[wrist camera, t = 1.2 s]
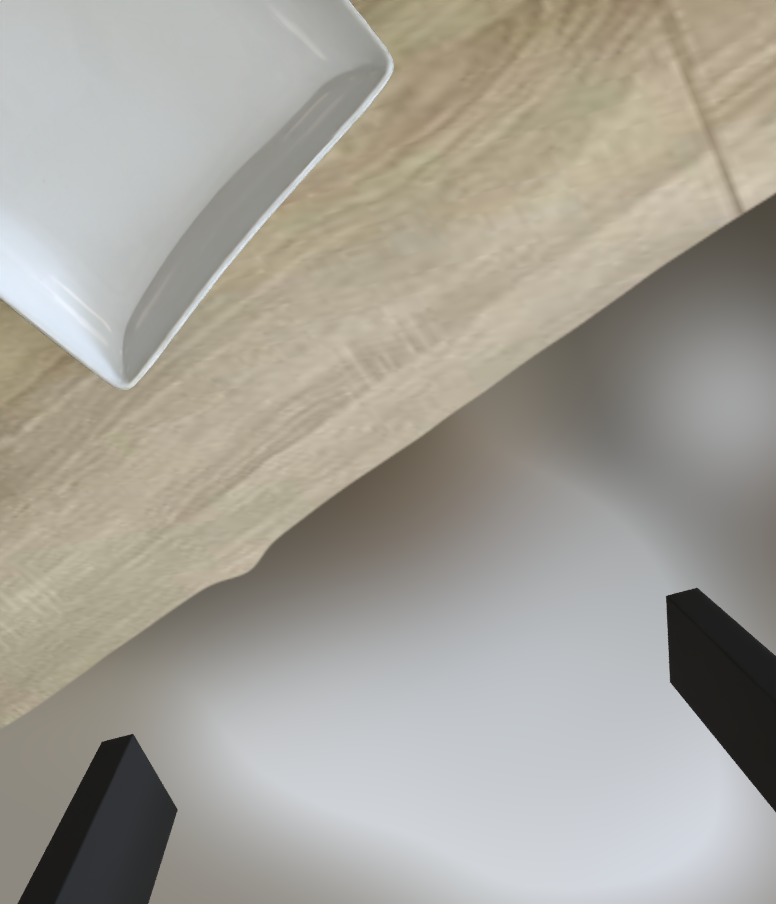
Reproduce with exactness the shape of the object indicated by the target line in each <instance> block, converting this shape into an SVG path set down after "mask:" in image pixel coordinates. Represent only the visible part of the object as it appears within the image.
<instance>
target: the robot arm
mask: <svg viewBox="0 0 776 904" xmlns="http://www.w3.org/2000/svg"><path fill="white" fill-rule="evenodd" d="M666 603H667V624H668V645H669V668H670V682H671V684H672V685H673V686H674V687H675V689H676V690H677V691H678V692H679V694H680V695H681V696H682V697H683V698H684V700H685V701H686V702H687V703H688V704H689V706H690V707H691V708H692V710H693V711H694V712H695V713H696V714H697V716H698V717H699V718H700V719H701V721H702V722H703V723H704V724H705V726H706V727H707V728H708V729H709V730H710V732H711V733H712V734H713V735H714V736H715V738H716V739H717V740H718V741H719V743H720V744H721V745H722V746H723V748H724V749H725V750H726V751H727V753H728V754H729V755H730V756H731V758H732V759H733V760H734V761H735V762H736V764H737V765H738V766H739V767H740V769H741V770H742V771H743V772H744V774H745V775H746V776H747V777H748V779H749V780H750V781H751V782H752V783H753V785H754V786H755V787H756V788H757V790H758V791H759V792H760V793H761V795H762V796H763V797H764V798H765V799H766V800H767V802H768V803H769V804H770V806H771V807H772V808H773V809H774V811H775V812H776V656H775V655H774V654H773V653H772V652H770V651H769V650H768V649H767V648H766V647H765V646H763V645H762V644H761V643H760V642H759V641H758V640H757V639H755V638H754V637H753V636H752V635H751V634H750V633H749V632H747V631H746V630H745V629H744V628H743V627H741V626H740V625H739V624H738V623H737V622H736V621H735V620H734V619H732V618H731V617H730V616H729V615H728V614H727V613H725V612H724V611H723V610H722V609H721V608H720V607H719V606H717V605H716V604H715V603H714V602H713V601H712V600H711V599H709V598H708V597H707V596H706V595H705V594H704V593H702V592H701V591H700V590H699V589H698V588H695V589H691V590H687V591H683V592H679V593H675V594H672V595H668V596H666ZM176 813H177V808H176V806H175V804H174V803H173V801H172V799H171V798H170V796H169V794H168V793H167V791H166V789H165V788H164V786H163V784H162V782H161V781H160V779H159V777H158V776H157V774H156V772H155V770H154V769H153V767H152V765H151V764H150V762H149V760H148V758H147V757H146V755H145V753H144V752H143V750H142V748H141V746H140V745H139V743H138V741H137V740H136V738H135V736H134V735H133V734H131V735H127V736H123V737H119V738H115V739H111V740H107V741H104V742H102V743H101V745H100V747H99V749H98V751H97V752H96V754H95V756H94V758H93V760H92V762H91V764H90V766H89V768H88V770H87V772H86V774H85V775H84V777H83V779H82V781H81V783H80V785H79V787H78V789H77V791H76V793H75V795H74V797H73V799H72V800H71V802H70V804H69V806H68V808H67V810H66V812H65V814H64V816H63V818H62V820H61V822H60V823H59V826H58V827H57V829H56V831H55V833H54V835H53V837H52V839H51V841H50V843H49V845H48V847H47V848H46V850H45V852H44V854H43V856H42V858H41V860H40V862H39V864H38V866H37V868H36V870H35V871H34V873H33V875H32V877H31V879H30V881H29V883H28V885H27V887H26V889H25V891H24V893H23V895H22V896H21V898H20V900H19V902H18V904H148V903H149V899H150V896H151V893H152V890H153V887H154V884H155V880H156V877H157V874H158V871H159V868H160V864H161V861H162V858H163V855H164V851H165V848H166V845H167V842H168V839H169V835H170V832H171V829H172V826H173V823H174V819H175V816H176Z"/></svg>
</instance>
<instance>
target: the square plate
mask: <svg viewBox="0 0 776 904" xmlns="http://www.w3.org/2000/svg"><path fill="white" fill-rule="evenodd" d="M393 69H394V67H393V60H392V57H391V55H390V53H389V51H388V49H387V48H386V46H385V45H384V44H383V43H382V41H381V40H380V39H379V37H378V36H377V35H376V33H375V32H374V31H373V30H372V28H371V27H370V26H369V25H368V23H367V22H366V21H365V19H364V18H363V17H362V16H361V15H360V13H359V12H358V11H357V10H356V8H355V7H354V6H353V5H352V4H351V2H350V1H349V0H0V299H1V300H2V301H3V302H5V303H6V304H7V305H8V306H10V307H11V308H12V309H13V310H15V311H16V312H17V313H18V314H20V315H21V316H22V317H23V318H24V319H26V320H27V321H28V322H29V323H31V324H32V325H33V326H34V327H36V328H37V329H38V330H39V331H41V332H42V333H43V334H44V335H46V336H47V337H48V338H50V339H51V340H52V341H53V342H55V343H56V344H57V345H58V346H60V347H61V348H62V349H63V350H65V351H66V352H67V353H68V354H70V355H71V356H72V357H73V358H75V359H76V360H77V361H79V362H80V363H82V364H83V365H84V366H85V367H87V368H88V369H89V370H91V371H92V372H93V373H95V374H96V375H97V376H98V377H100V378H101V379H102V380H104V381H105V382H107V383H108V384H110V385H111V386H113V387H115V388H117V389H120V390H127V389H130V388H131V387H133V386H134V385H135V384H136V383H137V382H138V381H139V380H140V379H141V378H142V377H143V376H144V375H145V373H146V372H147V371H148V370H149V369H150V367H151V366H152V365H153V364H154V363H155V361H156V360H157V359H158V357H159V356H160V354H161V353H162V352H163V351H164V349H165V348H166V347H167V345H168V344H169V342H170V341H171V340H172V338H173V337H174V336H175V334H176V333H177V332H178V330H179V329H180V328H181V327H182V325H183V324H184V323H185V321H186V320H187V319H188V317H189V316H190V315H191V313H192V312H193V311H194V309H195V308H196V307H197V305H198V304H199V302H200V301H201V300H202V299H203V298H204V297H205V295H206V294H207V293H208V291H209V290H210V288H211V287H212V286H213V285H214V283H215V282H216V281H217V279H218V278H219V277H220V276H221V274H222V273H223V272H224V270H225V269H226V268H227V267H228V266H229V264H230V263H231V262H232V261H233V260H234V258H235V257H236V256H237V255H238V253H239V252H240V251H241V250H242V249H243V247H244V246H245V245H246V244H247V243H248V242H249V240H250V239H251V238H252V237H253V236H254V235H255V233H256V232H257V231H258V230H259V229H260V228H261V226H262V225H263V224H264V223H265V221H266V220H267V219H268V218H269V217H270V216H271V215H272V213H273V212H274V211H275V210H276V209H277V208H278V207H279V206H280V205H281V203H282V202H283V201H284V200H285V199H286V198H287V197H288V196H289V195H290V193H291V192H292V191H293V190H294V189H295V188H296V187H297V185H298V184H299V183H300V182H301V181H302V180H303V179H304V178H305V177H306V175H307V174H308V173H309V172H310V171H311V170H312V169H313V168H314V167H315V166H316V165H317V163H318V162H319V161H320V160H321V159H322V158H323V157H324V156H325V155H326V153H327V152H328V151H329V150H330V149H331V148H332V147H333V146H334V145H335V143H336V142H337V141H338V140H339V139H340V138H341V137H342V136H343V134H344V133H345V132H346V131H347V130H348V129H349V128H350V127H351V126H352V124H353V123H354V122H355V121H356V120H357V119H358V118H359V117H360V116H361V115H362V114H363V113H364V111H365V110H366V109H367V108H368V106H369V105H370V104H371V103H372V101H373V100H374V99H375V98H376V96H377V95H378V94H379V93H380V91H381V90H382V89H383V87H384V86H385V85H386V83H387V82H388V80H389V78H390V76H391V74H392V73H393Z"/></svg>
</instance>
